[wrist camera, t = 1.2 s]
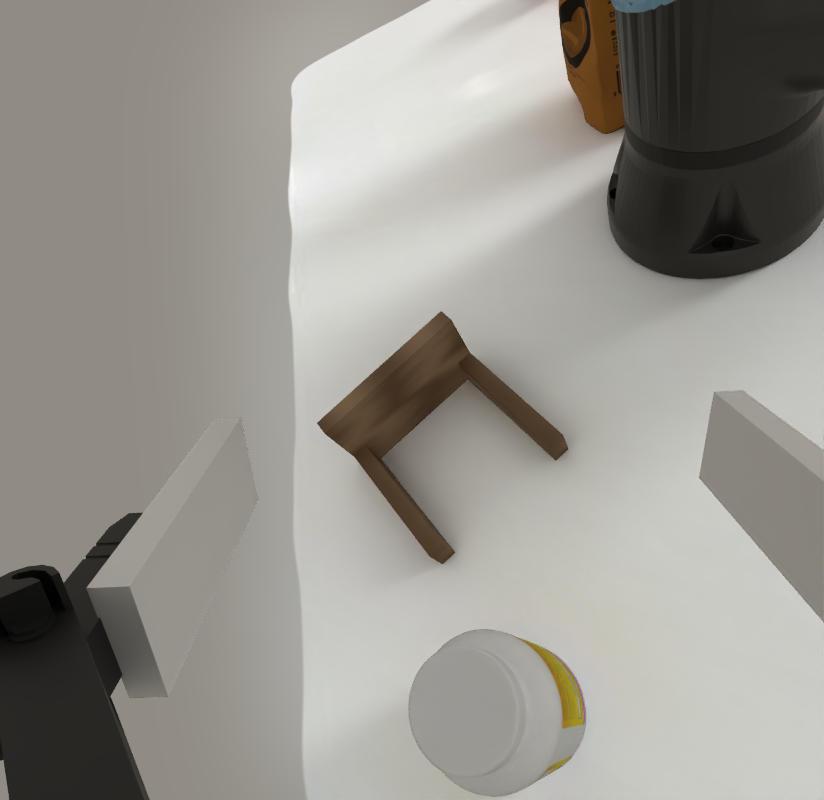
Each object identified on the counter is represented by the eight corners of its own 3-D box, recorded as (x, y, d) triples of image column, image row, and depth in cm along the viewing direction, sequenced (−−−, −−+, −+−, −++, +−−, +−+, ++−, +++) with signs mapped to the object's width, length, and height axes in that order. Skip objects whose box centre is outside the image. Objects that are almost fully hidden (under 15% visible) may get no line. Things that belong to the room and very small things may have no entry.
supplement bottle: (506, 623, 35) (437, 588, 25) (607, 686, 32) (575, 677, 21) (454, 725, 34) (358, 733, 23) (554, 803, 30) (493, 855, 20)
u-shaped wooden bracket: (469, 360, 45) (441, 311, 40) (568, 448, 39) (550, 404, 33) (361, 458, 45) (316, 422, 39) (442, 564, 38) (402, 539, 33)
